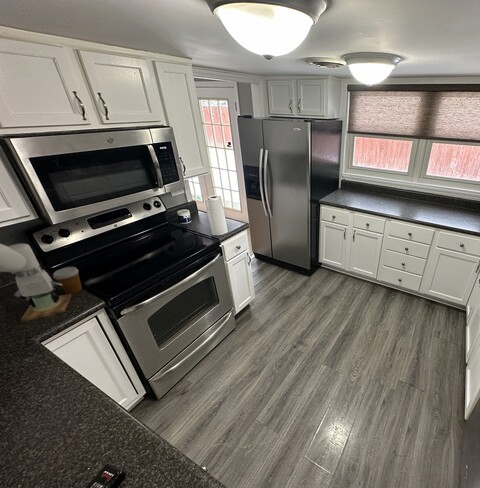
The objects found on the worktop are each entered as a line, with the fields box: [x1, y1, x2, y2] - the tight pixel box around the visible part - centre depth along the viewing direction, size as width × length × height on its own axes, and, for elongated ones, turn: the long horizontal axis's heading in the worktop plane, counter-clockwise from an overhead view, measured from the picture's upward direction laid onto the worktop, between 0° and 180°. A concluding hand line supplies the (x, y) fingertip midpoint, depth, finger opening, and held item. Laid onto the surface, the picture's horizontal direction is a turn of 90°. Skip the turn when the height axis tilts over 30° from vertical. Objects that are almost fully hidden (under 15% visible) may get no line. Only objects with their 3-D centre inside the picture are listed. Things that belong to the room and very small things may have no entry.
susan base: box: [20, 293, 72, 323], centre depth 124 cm, size 14×14×2 cm
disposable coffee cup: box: [52, 266, 83, 295], centre depth 135 cm, size 10×10×12 cm
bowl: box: [31, 292, 61, 312], centre depth 123 cm, size 10×10×6 cm
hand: (46, 303), depth 124 cm, fingers closed on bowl, 6 cm apart
